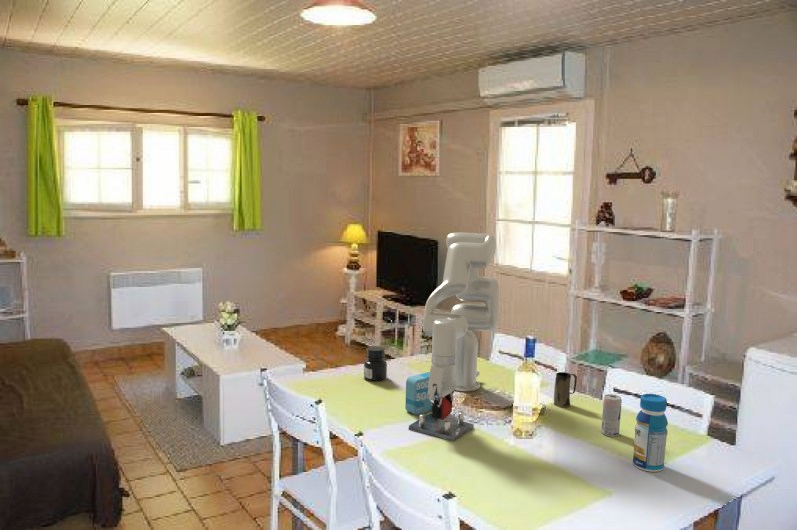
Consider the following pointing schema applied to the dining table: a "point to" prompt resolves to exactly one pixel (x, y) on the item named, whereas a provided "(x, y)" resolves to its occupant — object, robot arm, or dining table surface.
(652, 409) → the beverage bottle
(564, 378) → the mug
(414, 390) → the data package
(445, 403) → the onion
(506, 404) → the dining table surface
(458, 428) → the grey pegged plate
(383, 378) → the ink bottle
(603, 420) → the energy drink
